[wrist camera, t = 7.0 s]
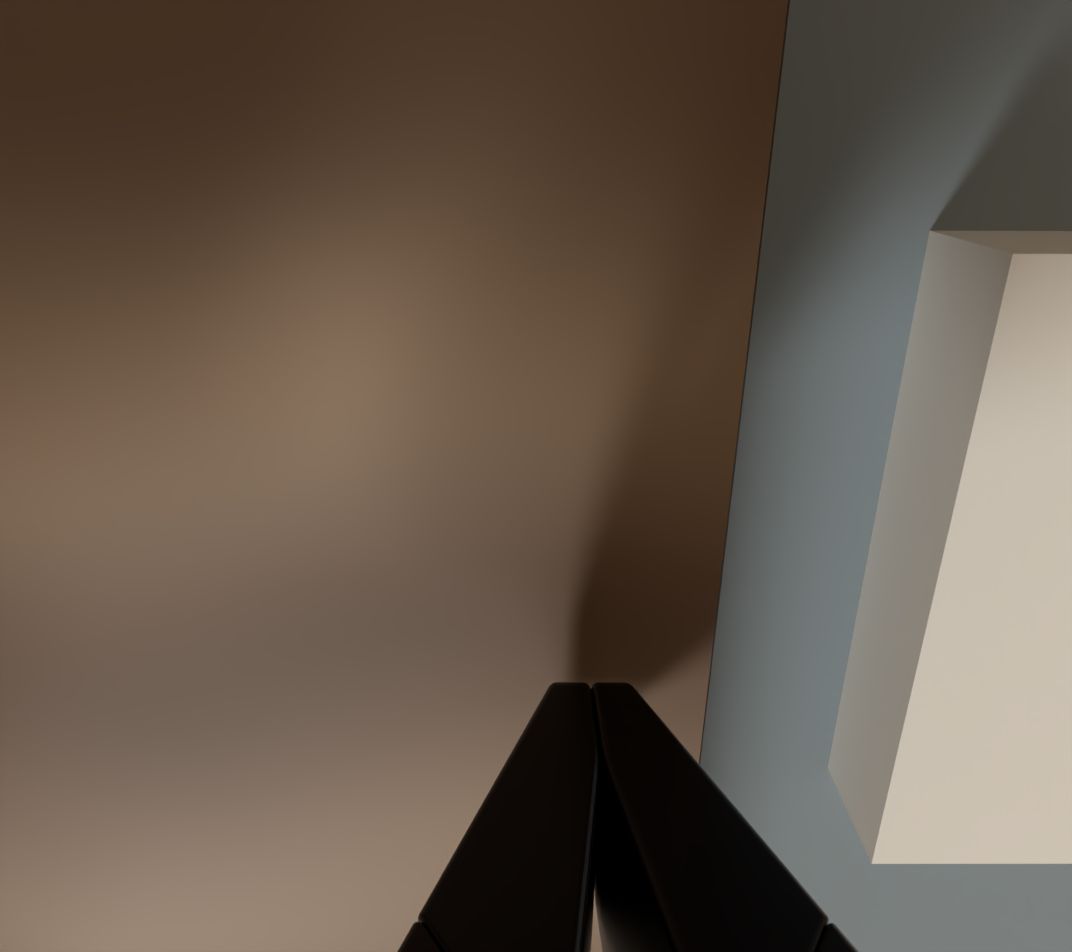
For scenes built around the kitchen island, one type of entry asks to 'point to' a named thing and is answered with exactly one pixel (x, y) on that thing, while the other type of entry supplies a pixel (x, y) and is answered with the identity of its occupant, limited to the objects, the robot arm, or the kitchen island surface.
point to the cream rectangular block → (970, 572)
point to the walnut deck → (349, 431)
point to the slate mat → (866, 416)
